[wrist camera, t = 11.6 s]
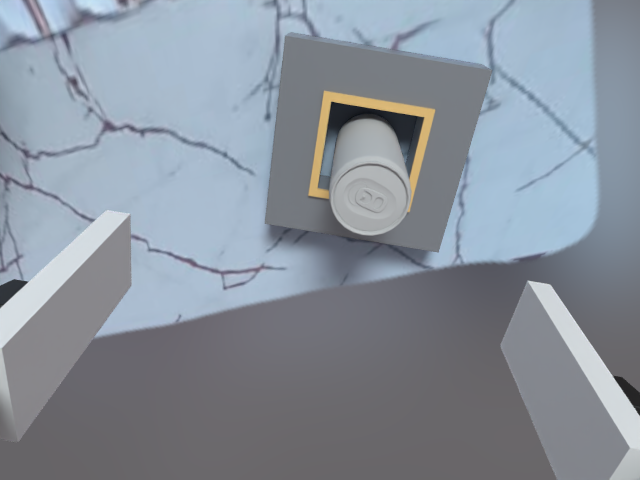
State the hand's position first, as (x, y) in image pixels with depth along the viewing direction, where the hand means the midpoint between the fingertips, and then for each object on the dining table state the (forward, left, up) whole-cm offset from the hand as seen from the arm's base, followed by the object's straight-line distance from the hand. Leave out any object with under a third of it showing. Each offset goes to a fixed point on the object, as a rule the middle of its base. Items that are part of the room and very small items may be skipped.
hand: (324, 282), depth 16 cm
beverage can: (+2, -2, -24) cm, 25 cm away
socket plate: (+2, -2, -24) cm, 24 cm away
